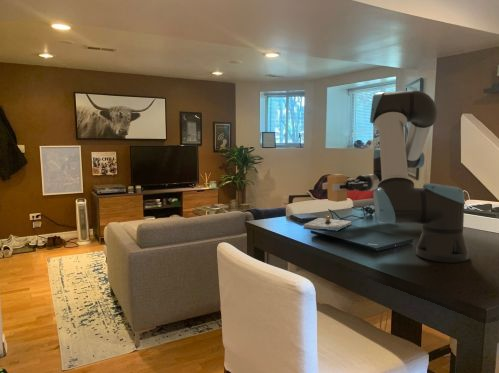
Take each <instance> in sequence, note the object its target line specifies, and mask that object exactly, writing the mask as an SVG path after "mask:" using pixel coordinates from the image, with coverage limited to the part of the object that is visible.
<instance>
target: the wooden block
mask: <svg viewBox="0 0 499 373" xmlns="http://www.w3.org/2000/svg"><path fill="white" fill-rule="evenodd" d="M347 180H348V176H347V175H345V174H341V173H333V174H330V175H327V183H328V189H327V201H332V202H336V203H337V202H345V201H346V202H347V201H348V190H347V189H346V188H345V190H336V191H333V184H341V183H345V185H346V182H347Z"/></svg>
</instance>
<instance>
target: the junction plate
mask: <svg viewBox="0 0 499 373" xmlns="http://www.w3.org/2000/svg"><path fill="white" fill-rule="evenodd" d="M346 225H349V226H351V225H352V220H344V219H333V218H331V215H325V218H324V217H318V218H316V219H314V220H311V221H308V222H307V223H306V222H305V223H304V224H303V228H304V229H311V230H312V229H313V230H319V228H336V227H337V228H340V227H342V226H346Z"/></svg>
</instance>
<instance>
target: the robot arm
mask: <svg viewBox="0 0 499 373" xmlns="http://www.w3.org/2000/svg"><path fill="white" fill-rule="evenodd" d="M371 100H372V101H371V108H370V109H371V110H370V117H369V118H370V119H369V123H370V124H373V125H374V129H376V130H377V131H378V138H379V148H375V149H374V150H373V158H372V160H373V161H372V162H373V166H372V167H373V168H372V169H373V170H372V171H373V173H370V174H361V175H358V176H356V178H353V179H347V182H346V185H345V183H341V184H333V191H336V190H345V188H346V189H347V191H348V190H350V191H352V190H357V191H359V192H367V191H370V192H372V191H373V193H372V194H373V196H372V197H373V205H374V212H375V215H376V218H377V220H378V221H380V222H381V223H386V224H387V223H388V224H392V225H394V224H414V225H415V224H421V225H422V230H421V234H420V237H419V238H418V242H417V244H416V247H415V250H416V251H415V252H416V255H417V256H418V257H420V258H423V259H424V260H429V261H433V262H440V263H452V264H454V263H455V264H456V263H464V262H466V261H468V260H469V259H470V258H469V256H470V255H469V254H470V253H469V247H468V246H467V242H466V239H465V236H464V222H465V220H464V219H465V218H464V217H465V204H466V202H465V201H466V200H465V193H464V190H463V189H462V188H460V187H457V186H452V185H447V184H439V183H432V182H431V183H429V182H425V183H424V184H423V185H422V187H415V182H414V181H413V180H412V179H411V178H409V169H417V168H419V169H420V168H423V166H424V165H425V153H424V152H423V150H424V147H425V144H426V140H427V138H428V135H429V134H430V130H431V127H432V126H433V125H434V124H435V123H436V121H437V118H438V107H437V104H436V103H435V101H434V99H433V98H432V96H430V95H429V94H427V92H424V91H421V90H414V89H413V90H400V91H398V90H397V91H383V92H376V93H375V94H374V95H373V96H372V99H371ZM407 123H410V124H409V129H408V132H407V136H406V140H405V131H404V128H405V126H407ZM322 190H328V182H322Z"/></svg>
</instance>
